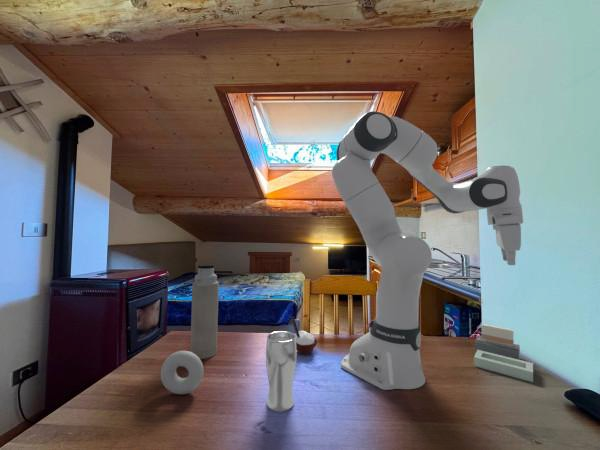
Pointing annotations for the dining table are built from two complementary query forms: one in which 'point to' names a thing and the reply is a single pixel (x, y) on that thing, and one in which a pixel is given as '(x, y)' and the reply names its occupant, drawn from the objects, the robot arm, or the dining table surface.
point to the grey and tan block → (497, 348)
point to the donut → (178, 383)
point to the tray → (504, 365)
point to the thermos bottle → (204, 312)
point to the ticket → (497, 335)
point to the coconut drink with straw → (304, 340)
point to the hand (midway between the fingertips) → (508, 262)
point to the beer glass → (280, 369)
